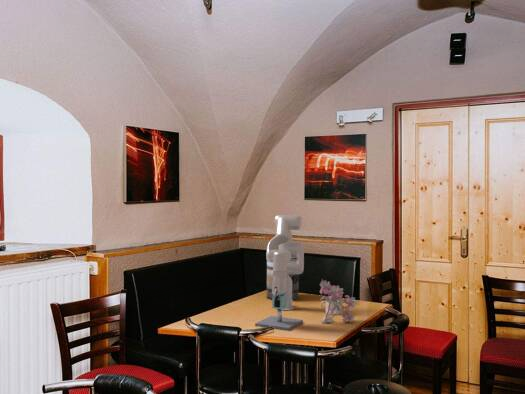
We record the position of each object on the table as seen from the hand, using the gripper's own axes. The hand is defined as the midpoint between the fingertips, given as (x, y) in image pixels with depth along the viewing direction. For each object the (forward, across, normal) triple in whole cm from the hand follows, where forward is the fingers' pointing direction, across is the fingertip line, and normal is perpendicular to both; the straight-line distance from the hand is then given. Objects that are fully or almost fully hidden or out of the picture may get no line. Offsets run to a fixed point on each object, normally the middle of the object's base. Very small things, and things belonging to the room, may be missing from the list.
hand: (279, 305), depth 284 cm
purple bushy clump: (+11, -40, +17) cm, 44 cm away
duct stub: (+9, 0, 0) cm, 9 cm away
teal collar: (+1, 0, 0) cm, 1 cm away
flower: (+11, -22, +28) cm, 37 cm away
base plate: (+10, 0, 0) cm, 10 cm away
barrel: (+11, -69, -28) cm, 75 cm away
